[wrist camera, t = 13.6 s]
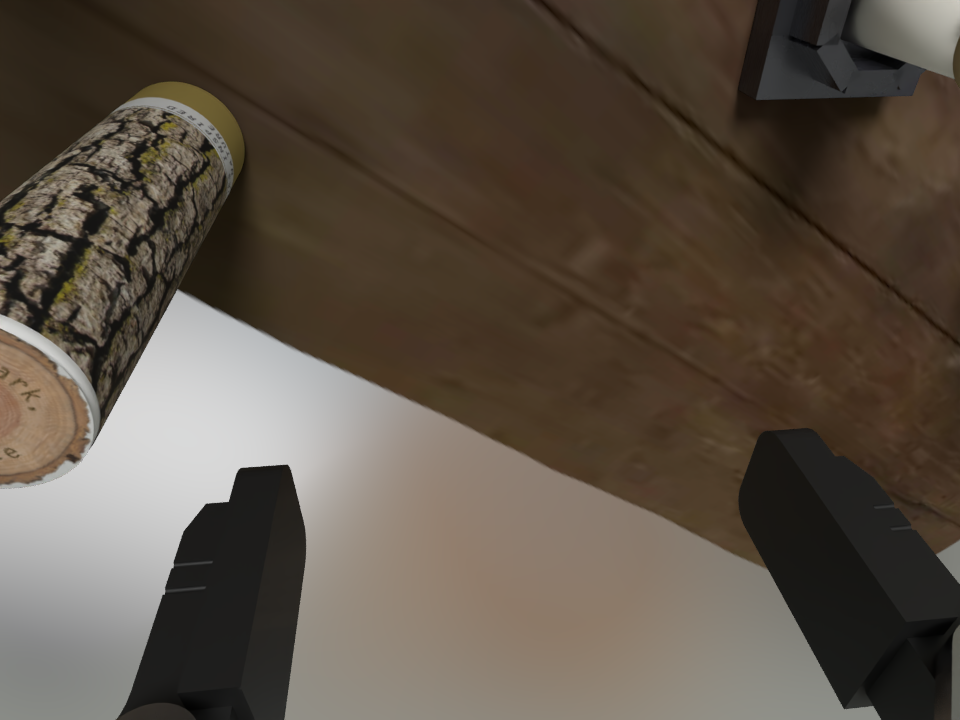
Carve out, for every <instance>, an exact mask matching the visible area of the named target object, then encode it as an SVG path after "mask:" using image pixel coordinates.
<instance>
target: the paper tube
mask: <svg viewBox="0 0 960 720" xmlns="http://www.w3.org/2000/svg"><path fill="white" fill-rule="evenodd" d="M244 155H245V147H244V140H243V136H242V133H241V130H240V128H239V125H238V123H237V121H236V120H235V118H234V117H233V115H232V114H231V112H230V111H229V110H228V109H227V107H226V106H225V105H224V104H223V103H222V102H220V101H219V100H218V99H217V98H216V97H214V96H213V95H211V94H210V93H208V92H207V91H205V90H203V89H201V88H199V87H196V86H193V85H190V84H187V83H182V82H161V83H157V84H153V85H150V86H148V87H146V88H144V89H142V90H141V91H139V92H138V93H137V94H136V95H134V96H133V97H132V98H131V99H129V100H128V101H127V102H126V103H124V104H123V105H121V106H120V107H119V108H117V109H116V110H115V111H113V112H112V113H111V114H110V115H108V116H107V117H106V118H105V119H103V120H102V121H101V122H100V123H98V124H97V125H96V126H95V127H93V128H92V129H91V130H90V131H88V132H87V133H86V134H85V135H83V136H82V137H81V138H80V139H78V140H77V141H76V142H75V143H73V144H72V145H71V146H70V147H68V148H67V149H66V150H65V151H63V152H62V153H61V154H60V155H58V156H57V157H56V158H55V159H53V160H52V161H51V162H50V163H48V164H47V165H46V166H45V167H43V168H42V169H41V170H40V171H38V172H37V173H36V174H35V175H33V176H32V177H31V178H29V179H28V180H27V181H26V182H24V183H23V184H22V185H21V186H19V187H18V188H17V189H16V190H14V191H13V192H12V193H11V194H9V195H8V196H7V197H6V198H4V199H3V200H2V201H1V202H0V488H1V489H5V488H22V487H28V486H34V485H39V484H43V483H46V482H49V481H52V480H54V479H57V478H59V477H61V476H63V475H65V474H66V473H68V472H69V471H71V470H72V469H73V468H75V467H76V466H77V465H78V464H79V463H80V462H81V461H82V460H83V458H84V457H85V456H86V454H87V453H88V451H89V449H90V448H91V446H92V445H93V444H94V442H95V440H96V438H97V436H98V435H99V433H100V431H101V429H102V427H103V425H104V423H105V422H106V420H107V418H108V416H109V414H110V412H111V411H112V409H113V407H114V405H115V403H116V401H117V399H118V397H119V396H120V394H121V392H122V390H123V388H124V387H125V385H126V383H127V381H128V379H129V377H130V376H131V374H132V372H133V370H134V368H135V366H136V364H137V363H138V361H139V359H140V357H141V355H142V353H143V352H144V350H145V348H146V346H147V344H148V342H149V340H150V339H151V337H152V335H153V333H154V331H155V329H156V328H157V326H158V324H159V322H160V320H161V318H162V316H163V315H164V313H165V311H166V309H167V307H168V305H169V303H170V302H171V300H172V298H173V296H174V294H175V293H176V291H177V289H178V287H179V285H180V283H181V281H182V280H183V278H184V276H185V274H186V272H187V270H188V269H189V267H190V265H191V263H192V261H193V259H194V257H195V256H196V254H197V252H198V250H199V248H200V246H201V245H202V243H203V241H204V239H205V237H206V235H207V233H208V232H209V230H210V228H211V226H212V224H213V222H214V221H215V219H216V217H217V215H218V213H219V211H220V210H221V208H222V206H223V204H224V202H225V200H226V198H227V197H228V195H229V193H230V190H231V188H232V186H233V185H234V183H235V181H236V179H237V177H238V175H239V173H240V171H241V169H242V166H243V162H244Z"/></svg>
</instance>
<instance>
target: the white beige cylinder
mask: <svg viewBox="0 0 960 720" xmlns="http://www.w3.org/2000/svg"><path fill="white" fill-rule="evenodd" d="M840 39H841V40H843V41H846V42H849V43H852V44H855V45H858V46H861V47H864V48H866V49H869V50H872V51H875V52H878V53H881V54H884V55H887V56H890V57H892V58H895V59H898V60H901V61H904V62H907V63H910V64H913V65H916V66H919V67H921V68H924V69H927V70H930V71H933V72H936V73H939V74H942V75H945V76H947V77H950V78H953V79H955V81H956V83H957V85H958V87H959V88H960V0H852V1H851V4H850V7H849V10H848V14H847V17H846V20H845V23H844V27H843V30H842V33H841V37H840Z"/></svg>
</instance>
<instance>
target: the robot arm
mask: <svg viewBox="0 0 960 720" xmlns="http://www.w3.org/2000/svg"><path fill="white" fill-rule="evenodd" d="M739 511H740V515H741V519H742V521H743V524H744V526H745V528H746V530H747V532H748V534H749V535H750V537H751V539H752V541H753V543H754V545H755V546H756V548H757V550H758V552H759V554H760V556H761V557H762V559H763V561H764V563H765V565H766V567H767V568H768V570H769V572H770V574H771V576H772V577H773V579H774V581H775V583H776V585H777V587H778V589H779V590H780V592H781V594H782V595H783V598H784V600H785V601H786V603H787V605H788V607H789V609H790V611H791V612H792V614H793V616H794V618H795V620H796V622H797V623H798V625H799V627H800V629H801V631H802V633H803V634H804V636H805V638H806V640H807V642H808V644H809V645H810V647H811V649H812V651H813V653H814V655H815V656H816V658H817V660H818V662H819V664H820V666H821V667H822V669H823V671H824V673H825V675H826V677H827V678H828V680H829V682H830V684H831V686H832V688H833V689H834V691H835V693H836V695H837V697H838V699H839V701H840V702H841V704H842V706H843V708H844V709H849V708H859V707H868V706H874V708H875V709H876V711H877V713H878V715H879V716H880V718H881V720H960V584H959V583H958V582H957V581H956V579H955V578H954V577H953V576H952V574H951V573H950V572H949V571H948V569H947V568H946V567H945V566H944V564H943V563H942V562H941V561H940V560H939V558H938V557H937V556H936V555H935V553H934V552H933V551H932V550H931V548H930V547H929V546H928V545H927V543H926V542H925V541H924V540H923V538H922V537H921V536H920V535H919V534H918V532H917V531H916V530H912V529H911V524H910V522H909V521H908V520H907V519H906V517H905V516H904V515H903V514H902V512H901V511H900V510H899V509H898V508H897V509H895V507H894V503H893V501H892V500H891V499H890V498H889V496H888V495H887V494H886V493H885V491H884V490H883V489H882V488H881V486H880V485H879V484H878V483H877V481H876V480H875V479H874V478H873V477H872V476H871V475H869V474H868V473H866V472H865V471H864V470H862V469H861V468H860V467H858V466H857V465H855V464H854V463H853V462H851V461H850V460H849V459H847V458H846V457H844V456H838V457H835V456H834V454H833V453H832V452H831V450H830V449H829V448H828V447H827V445H826V444H825V443H824V441H823V440H822V439H821V438H820V436H819V435H818V434H817V433H816V432H815V431H814V430H812V429H809V428H802V429H789V430H775V431H765V432H763V433H762V434H761V435H760V436H759V438H758V440H757V443H756V445H755V448H754V451H753V454H752V457H751V459H750V462H749V465H748V468H747V471H746V473H745V476H744V479H743V482H742V485H741V487H740V491H739ZM305 559H306V534H305V526H304V522H303V517H302V513H301V510H300V505H299V501H298V497H297V493H296V489H295V485H294V481H293V477H292V473H291V470H290V467H289V466H288V465H276V466H263V467H248V468H240V469H239V471H238V472H237V474H236V478H235V481H234V485H233V489H232V492H231V496H230V500H229V502H223V503H210V504H206V505H205V506H204V507H203V508H202V510H201V511H200V512H199V513H198V514H197V516H196V517H195V518H194V520H193V521H192V522H191V523H190V524H189V526H188V527H187V528H186V529H185V531H184V532H183V535H182V539H181V541H180V544H179V548H178V551H177V553H176V557H175V560H174V568H172V569H171V572H170V575H169V578H168V581H167V584H166V587H165V590H166V592H165V595H163V596H162V599H161V602H160V605H159V608H158V611H157V614H156V618H155V620H154V623H153V627H152V629H151V633H150V636H149V639H148V642H147V645H146V648H145V651H144V654H143V657H142V660H141V663H140V666H139V669H138V672H137V675H136V678H135V681H134V684H133V687H132V691H131V693H130V696H129V698H128V701H127V703H126V705H125V707H124V708H123V710H122V712H121V714H120V715H119V717H118V718H117V719H116V720H284V717H285V709H286V702H287V695H288V687H289V680H290V673H291V665H292V658H293V650H294V643H295V634H296V627H297V619H298V612H299V605H300V598H301V590H302V582H303V576H304V568H305Z"/></svg>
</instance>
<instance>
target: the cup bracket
mask: <svg viewBox="0 0 960 720" xmlns="http://www.w3.org/2000/svg"><path fill="white" fill-rule="evenodd" d="M851 1H852V0H758V4H757V9H756V13H755V17H754V22H753V26H752V30H751V35H750V39H749V44H748V48H747V52H746V57H745V61H744V65H743V70H742V74H741V78H740V83H739V87H738V90H740V91H742V92H743V93H745V94H747V95H748V96H750V97H752V98H753V99H755V100H772V99H809V98H847V97H884V96H912V95H913V93H914V90H915V87H916V85H917V82H918V80H919V77H920V74H922V73H923V72H924V71H925V70H927V69H924V68H921V67H919V66H916V65H913V64H910V63H907V62H904V61H901V60H898V59H895V58H892V57H890V56H887V55H884V54H881V53H878V52H875V51H872V50H869V49H866V48H864V47H861V46H858V45H855V44H852V43H849V42H846V41H843V40H841V39H840V37H841V33H842V30H843V27H844V23H845V20H846V17H847V14H848V10H849V7H850V4H851Z"/></svg>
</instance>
